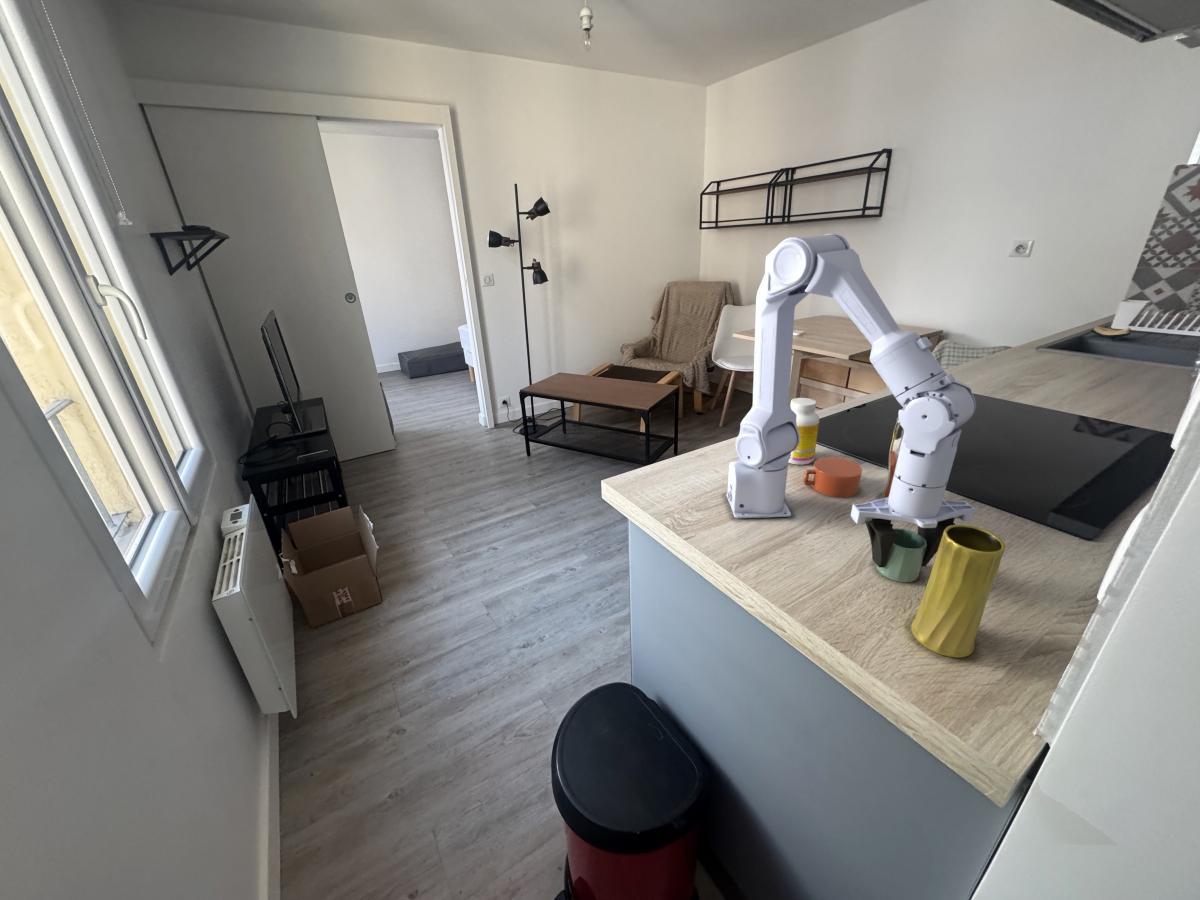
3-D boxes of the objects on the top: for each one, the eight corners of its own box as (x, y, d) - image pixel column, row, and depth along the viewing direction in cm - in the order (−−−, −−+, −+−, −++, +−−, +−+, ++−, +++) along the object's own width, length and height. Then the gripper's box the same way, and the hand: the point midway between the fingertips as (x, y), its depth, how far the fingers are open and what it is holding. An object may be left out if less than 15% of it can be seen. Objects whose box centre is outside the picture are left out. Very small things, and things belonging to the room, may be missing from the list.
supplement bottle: (820, 459, 98) (829, 401, 92) (801, 469, 94) (809, 409, 89) (792, 449, 103) (799, 393, 97) (773, 458, 100) (778, 401, 94)
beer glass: (931, 513, 78) (955, 430, 71) (885, 511, 79) (904, 429, 73) (915, 492, 84) (935, 414, 78) (872, 490, 85) (889, 414, 79)
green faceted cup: (887, 583, 64) (895, 550, 62) (869, 559, 68) (876, 528, 66) (925, 582, 63) (935, 549, 61) (905, 558, 68) (913, 527, 66)
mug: (847, 475, 91) (850, 456, 89) (866, 496, 84) (870, 476, 82) (795, 477, 92) (798, 458, 90) (810, 498, 84) (813, 478, 83)
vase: (899, 621, 58) (925, 524, 52) (946, 615, 58) (978, 519, 52) (935, 661, 52) (969, 559, 46) (987, 655, 53) (1028, 552, 47)
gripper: (876, 494, 57) (857, 582, 62) (1003, 491, 56) (972, 580, 61) (851, 468, 63) (836, 550, 69) (964, 464, 62) (939, 547, 68)
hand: (898, 562), depth 65 cm, fingers closed on green faceted cup, 5 cm apart
